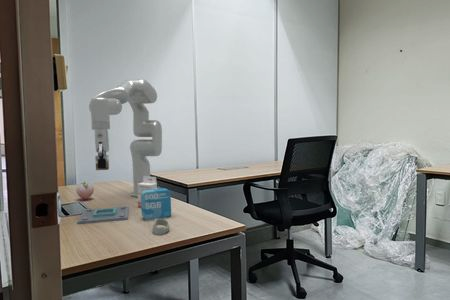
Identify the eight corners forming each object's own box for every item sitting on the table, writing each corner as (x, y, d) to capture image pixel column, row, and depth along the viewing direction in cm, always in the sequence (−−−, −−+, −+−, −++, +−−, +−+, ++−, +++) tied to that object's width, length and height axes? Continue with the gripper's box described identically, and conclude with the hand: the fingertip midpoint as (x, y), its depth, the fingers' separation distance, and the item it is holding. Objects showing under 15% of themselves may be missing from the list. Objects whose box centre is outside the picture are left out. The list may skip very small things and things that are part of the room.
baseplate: (128, 208, 166) (128, 204, 166) (127, 219, 147) (127, 215, 147) (84, 211, 161) (84, 207, 161) (77, 224, 142) (77, 219, 142)
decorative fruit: (97, 199, 187) (96, 181, 187) (82, 202, 181) (81, 183, 181) (89, 197, 194) (88, 179, 193) (74, 199, 188) (73, 181, 187)
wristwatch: (154, 228, 135) (154, 215, 135) (171, 227, 135) (170, 215, 135) (150, 235, 126) (150, 222, 126) (167, 235, 126) (167, 221, 126)
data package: (143, 220, 145) (142, 192, 144) (141, 217, 150) (140, 190, 149) (171, 216, 150) (170, 189, 149) (168, 214, 154) (167, 187, 153)
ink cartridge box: (137, 207, 168) (136, 177, 167) (144, 205, 172) (142, 176, 171) (151, 209, 164) (150, 178, 163) (158, 206, 169) (157, 176, 168)
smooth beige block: (108, 168, 155) (108, 155, 155) (108, 169, 150) (107, 156, 150) (97, 168, 154) (96, 155, 154) (95, 170, 149) (95, 156, 149)
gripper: (108, 126, 143) (110, 169, 145) (111, 126, 160) (112, 165, 161) (89, 126, 142) (91, 170, 143) (93, 126, 158) (95, 165, 159)
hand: (102, 167), depth 152 cm, fingers closed on smooth beige block, 5 cm apart
